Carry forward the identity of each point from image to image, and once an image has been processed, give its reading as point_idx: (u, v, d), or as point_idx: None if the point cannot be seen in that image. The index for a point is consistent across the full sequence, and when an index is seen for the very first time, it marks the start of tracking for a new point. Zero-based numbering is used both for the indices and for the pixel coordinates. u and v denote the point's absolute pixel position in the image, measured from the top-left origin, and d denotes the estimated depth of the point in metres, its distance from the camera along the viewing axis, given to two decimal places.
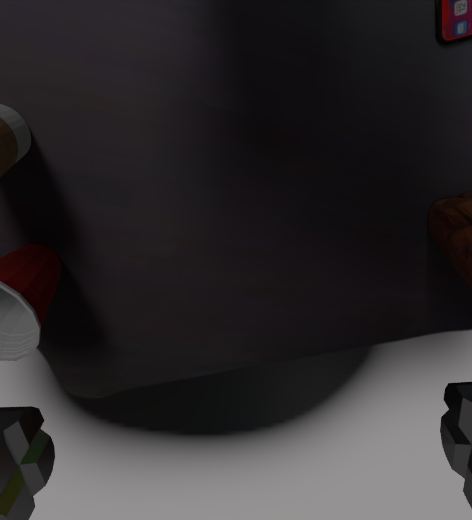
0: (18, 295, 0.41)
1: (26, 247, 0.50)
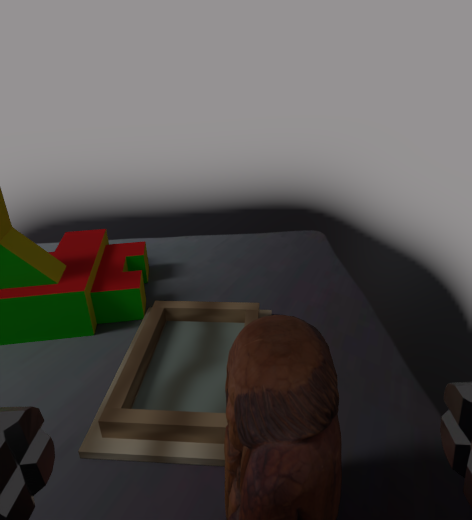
0: None
1: None
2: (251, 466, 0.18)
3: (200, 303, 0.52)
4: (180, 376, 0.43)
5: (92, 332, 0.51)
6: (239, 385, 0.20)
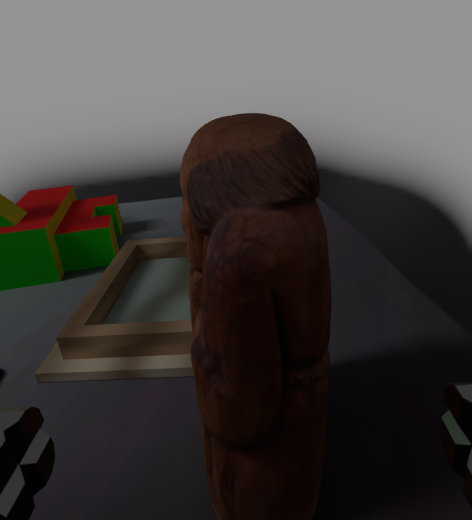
0: None
1: None
2: (209, 245, 0.14)
3: (175, 238, 0.47)
4: (154, 301, 0.38)
5: (58, 278, 0.46)
6: (190, 162, 0.15)
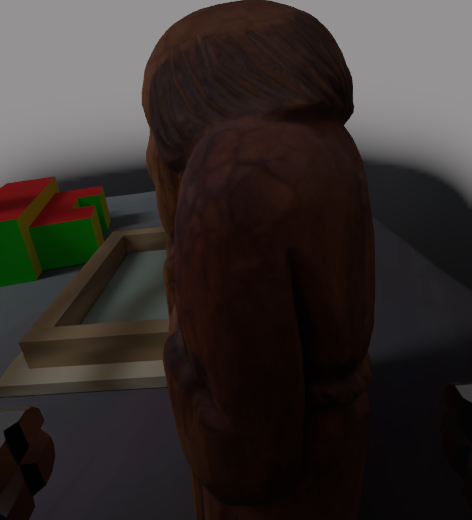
0: None
1: None
2: (181, 182, 0.09)
3: None
4: (141, 298, 0.33)
5: (34, 276, 0.40)
6: (153, 62, 0.10)
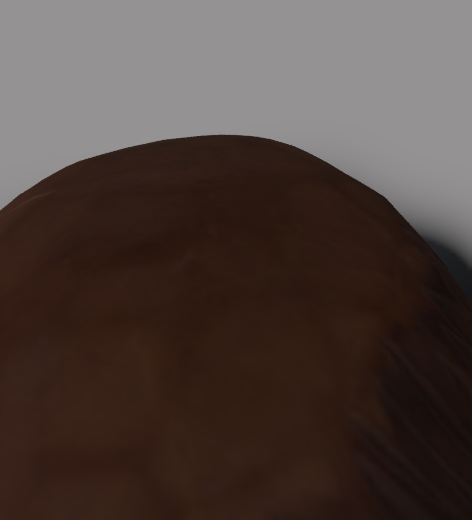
0: None
1: None
2: None
3: None
4: None
5: None
6: None
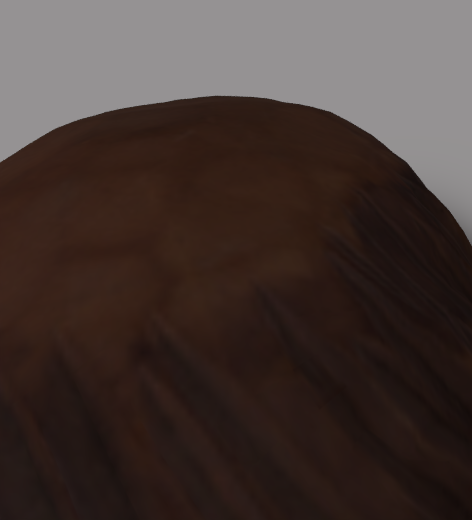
0: None
1: None
2: None
3: None
4: None
5: None
6: None
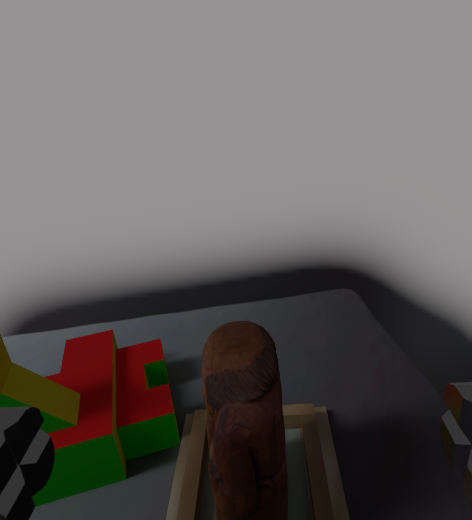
0: None
1: None
2: (217, 421, 0.28)
3: None
4: None
5: (124, 476, 0.42)
6: (207, 369, 0.29)
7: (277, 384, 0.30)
